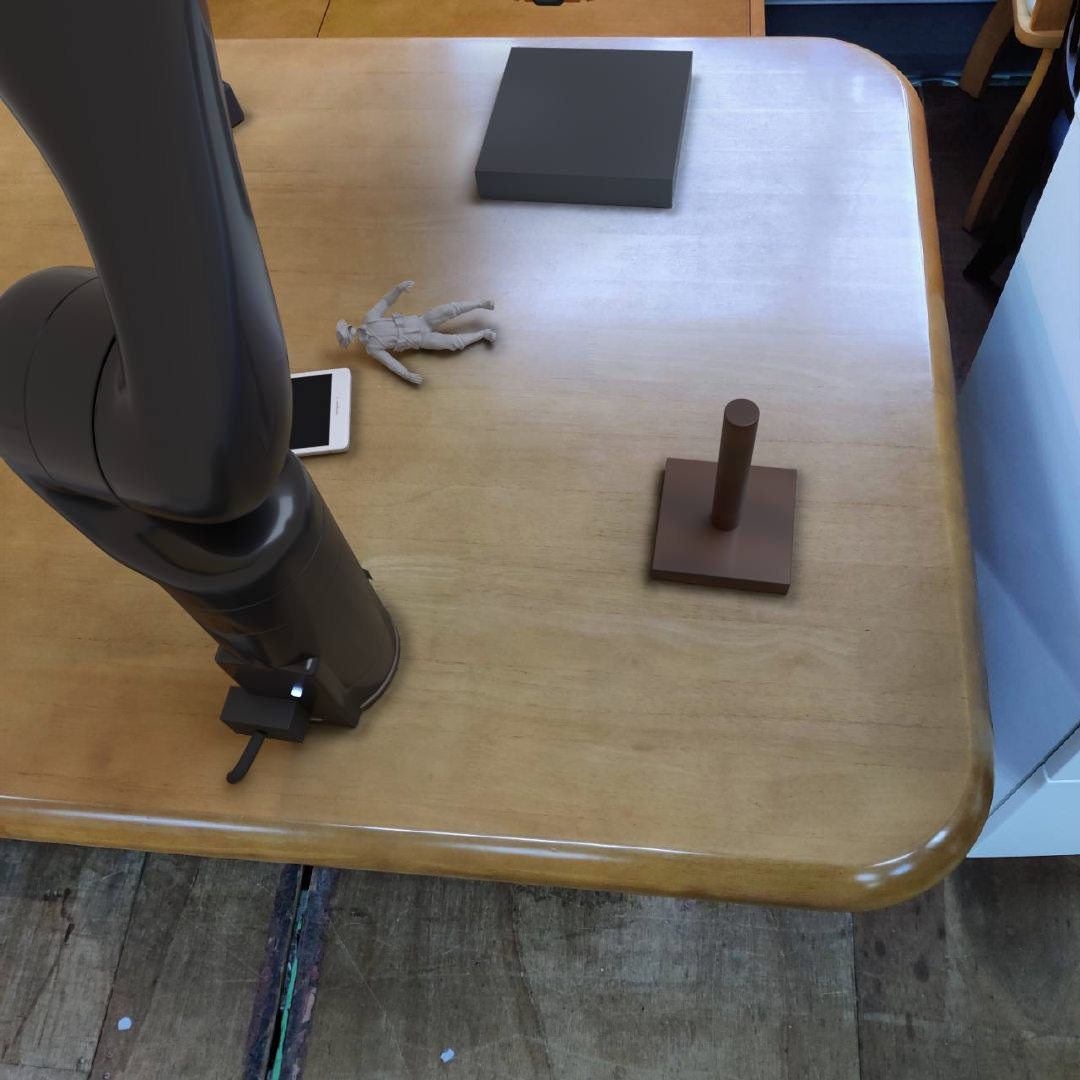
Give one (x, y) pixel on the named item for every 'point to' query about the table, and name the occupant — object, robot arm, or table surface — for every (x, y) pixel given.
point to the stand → (587, 127)
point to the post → (727, 514)
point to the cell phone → (321, 412)
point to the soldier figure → (410, 330)
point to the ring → (566, 0)
